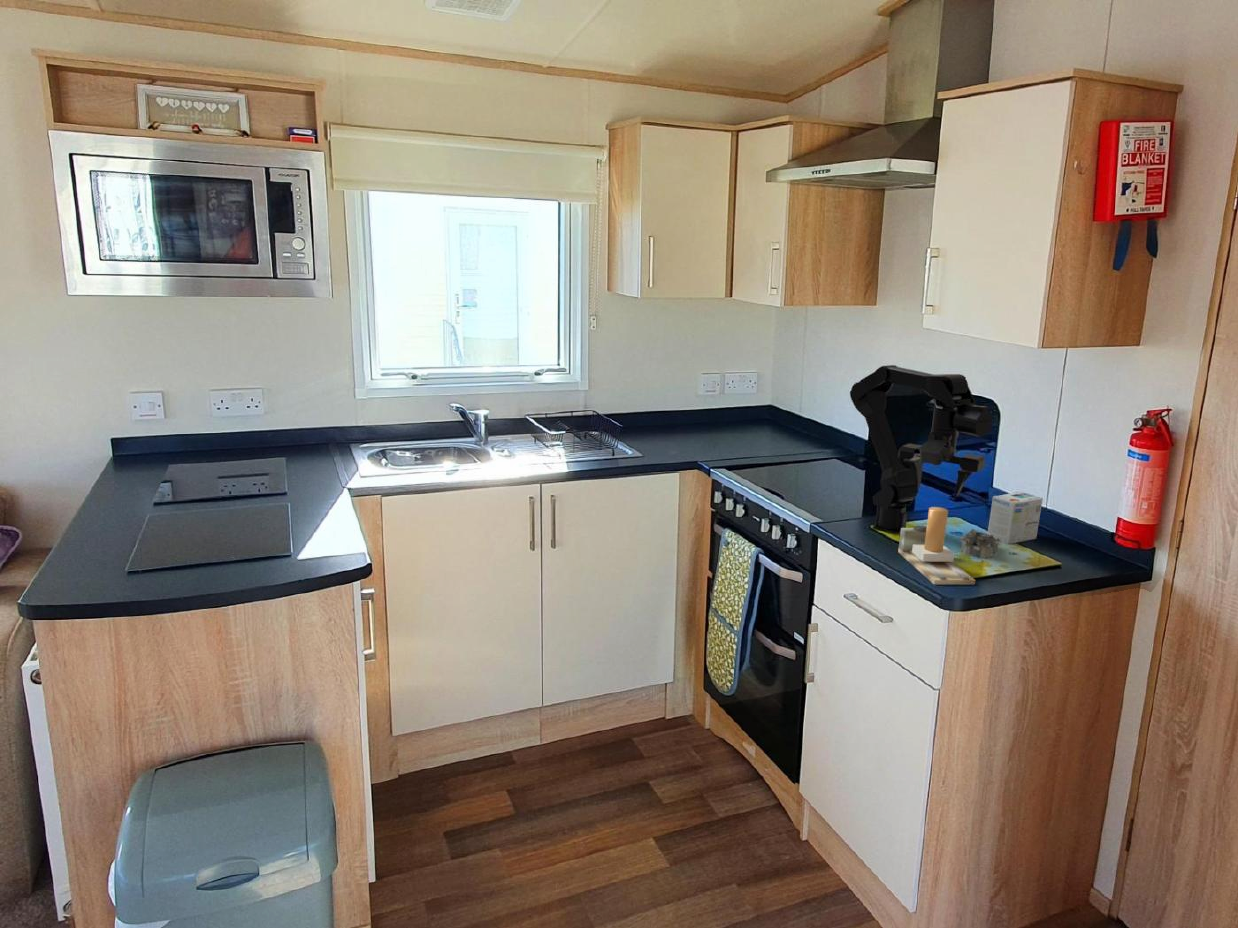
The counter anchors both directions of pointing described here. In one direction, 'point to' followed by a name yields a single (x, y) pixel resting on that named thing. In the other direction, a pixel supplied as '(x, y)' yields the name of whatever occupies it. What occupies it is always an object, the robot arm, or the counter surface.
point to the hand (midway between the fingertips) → (936, 492)
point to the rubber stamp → (934, 538)
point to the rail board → (930, 570)
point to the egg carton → (979, 544)
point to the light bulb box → (1015, 517)
